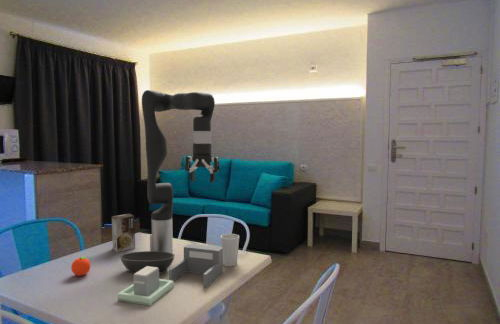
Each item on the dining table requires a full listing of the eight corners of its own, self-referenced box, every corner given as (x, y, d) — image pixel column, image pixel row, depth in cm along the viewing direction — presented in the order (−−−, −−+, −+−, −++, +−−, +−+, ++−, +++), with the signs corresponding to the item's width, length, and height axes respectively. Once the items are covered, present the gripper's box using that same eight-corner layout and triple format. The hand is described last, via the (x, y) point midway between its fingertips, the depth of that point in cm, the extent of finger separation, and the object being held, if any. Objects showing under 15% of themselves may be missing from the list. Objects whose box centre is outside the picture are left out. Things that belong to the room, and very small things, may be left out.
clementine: (85, 269, 153) (85, 252, 152) (96, 273, 150) (96, 255, 149) (67, 276, 146) (67, 258, 146) (78, 279, 143) (78, 261, 142)
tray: (117, 300, 125) (117, 293, 125) (144, 282, 140) (144, 276, 140) (150, 305, 122) (149, 298, 121) (173, 287, 136) (173, 280, 136)
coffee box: (130, 245, 186) (129, 213, 185) (135, 248, 181) (134, 215, 180) (112, 248, 180) (111, 215, 179) (116, 252, 175) (116, 218, 174)
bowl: (171, 276, 146) (171, 261, 146) (115, 276, 146) (115, 261, 146) (177, 265, 159) (177, 251, 158) (125, 265, 158) (125, 251, 158)
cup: (240, 260, 164) (240, 234, 163) (237, 267, 156) (237, 239, 155) (222, 260, 165) (222, 233, 164) (219, 266, 157) (219, 238, 156)
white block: (132, 295, 127) (132, 274, 127) (147, 285, 135) (146, 265, 135) (145, 297, 126) (145, 276, 125) (159, 287, 134) (158, 267, 133)
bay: (168, 282, 141) (168, 256, 140) (188, 267, 156) (188, 244, 155) (206, 287, 136) (206, 261, 135) (222, 272, 151) (222, 247, 150)
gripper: (181, 142, 150) (182, 182, 151) (214, 142, 146) (214, 184, 147) (190, 141, 157) (190, 180, 159) (221, 142, 153) (221, 181, 154)
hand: (202, 181), depth 153 cm, fingers open, 8 cm apart
